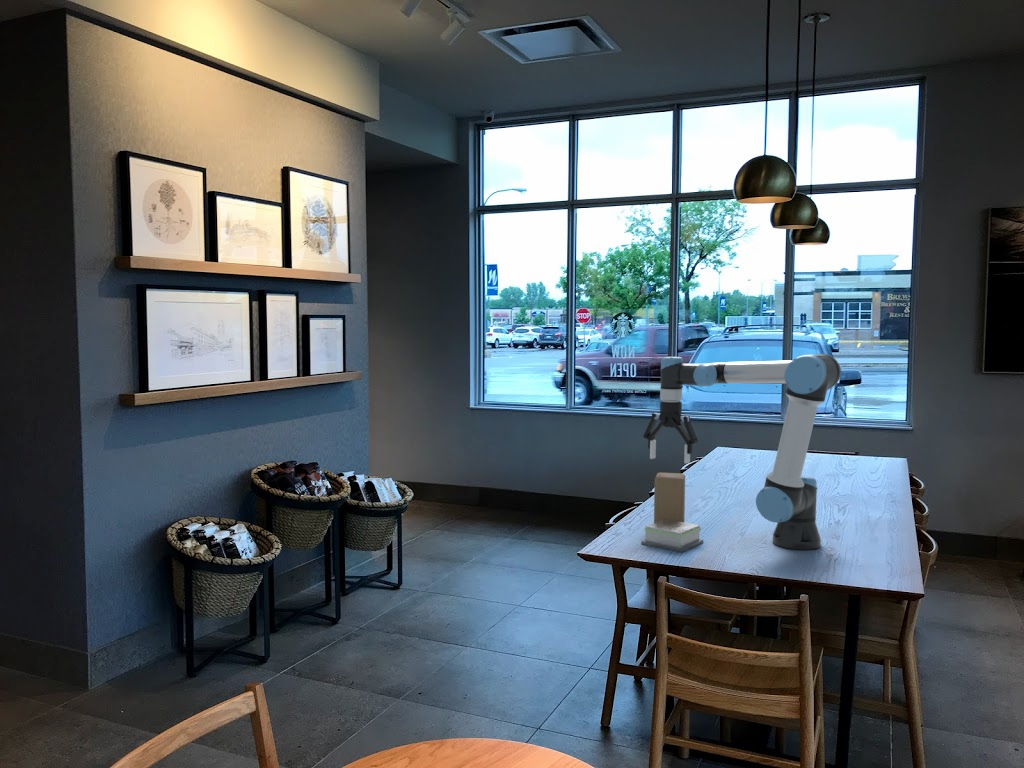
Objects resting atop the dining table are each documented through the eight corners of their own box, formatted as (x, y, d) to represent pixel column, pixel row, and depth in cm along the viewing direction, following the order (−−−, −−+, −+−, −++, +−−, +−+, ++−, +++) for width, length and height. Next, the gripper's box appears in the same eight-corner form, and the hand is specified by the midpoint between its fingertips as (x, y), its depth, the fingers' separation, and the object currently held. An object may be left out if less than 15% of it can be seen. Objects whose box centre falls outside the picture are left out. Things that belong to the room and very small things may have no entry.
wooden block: (684, 528, 288) (685, 473, 286) (682, 535, 278) (683, 478, 277) (656, 526, 291) (657, 471, 289) (653, 533, 281) (654, 476, 280)
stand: (703, 542, 269) (703, 525, 268) (681, 552, 258) (682, 534, 257) (663, 535, 279) (664, 518, 278) (641, 544, 267) (641, 526, 267)
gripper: (708, 402, 276) (707, 463, 278) (645, 397, 292) (644, 455, 294) (698, 404, 270) (696, 466, 272) (634, 399, 286) (633, 457, 288)
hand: (669, 460), depth 283 cm, fingers open, 13 cm apart
